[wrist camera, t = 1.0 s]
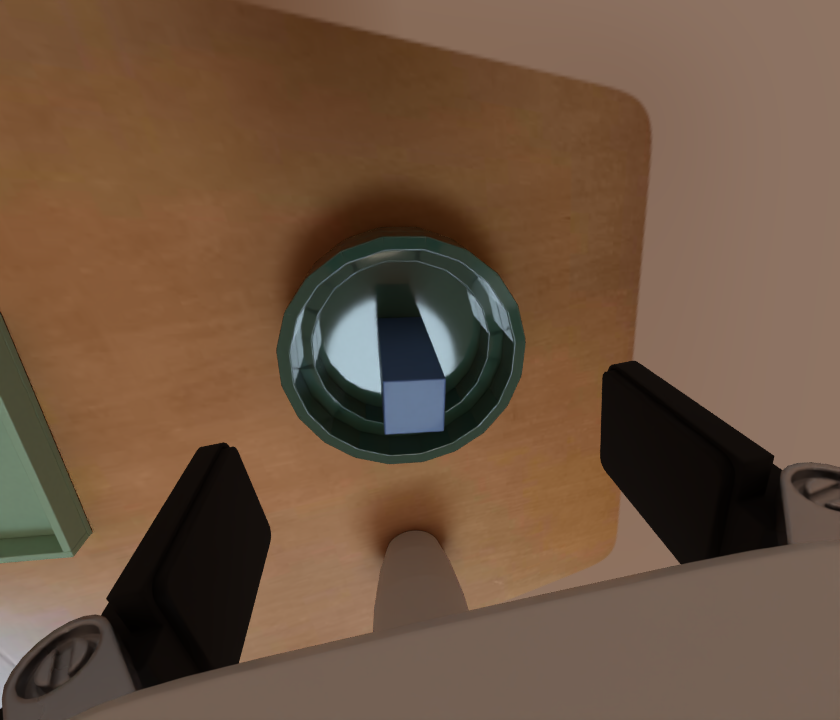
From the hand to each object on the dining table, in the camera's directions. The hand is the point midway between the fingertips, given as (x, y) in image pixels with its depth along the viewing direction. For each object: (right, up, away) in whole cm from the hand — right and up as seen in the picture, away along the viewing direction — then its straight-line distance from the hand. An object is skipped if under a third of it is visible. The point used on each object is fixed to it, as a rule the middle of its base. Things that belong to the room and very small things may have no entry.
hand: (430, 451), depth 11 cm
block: (-2, +4, +20) cm, 20 cm away
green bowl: (-2, +4, +20) cm, 21 cm away
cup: (-1, -16, +30) cm, 34 cm away
